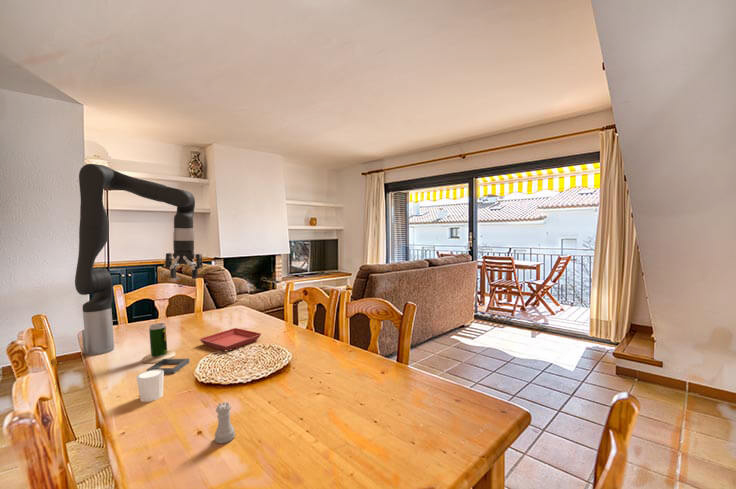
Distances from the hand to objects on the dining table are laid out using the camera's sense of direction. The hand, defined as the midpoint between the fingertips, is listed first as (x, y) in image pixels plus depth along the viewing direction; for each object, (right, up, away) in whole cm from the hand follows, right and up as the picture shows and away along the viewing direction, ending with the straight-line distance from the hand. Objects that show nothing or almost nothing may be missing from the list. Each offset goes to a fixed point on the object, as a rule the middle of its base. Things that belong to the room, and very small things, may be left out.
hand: (184, 278), depth 146 cm
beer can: (-4, -29, -11) cm, 31 cm away
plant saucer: (+18, -28, +4) cm, 34 cm away
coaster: (-4, -29, -11) cm, 31 cm away
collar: (+6, -30, -22) cm, 37 cm away
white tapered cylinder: (+13, -31, -43) cm, 54 cm away
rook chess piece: (+43, -31, -64) cm, 83 cm away
